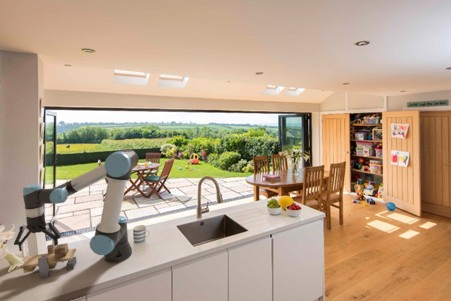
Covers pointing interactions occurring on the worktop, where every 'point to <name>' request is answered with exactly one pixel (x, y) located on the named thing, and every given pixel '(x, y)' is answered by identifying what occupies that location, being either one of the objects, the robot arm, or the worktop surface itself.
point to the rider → (61, 250)
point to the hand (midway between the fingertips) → (40, 253)
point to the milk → (36, 243)
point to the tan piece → (32, 261)
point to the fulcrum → (44, 266)
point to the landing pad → (71, 263)
